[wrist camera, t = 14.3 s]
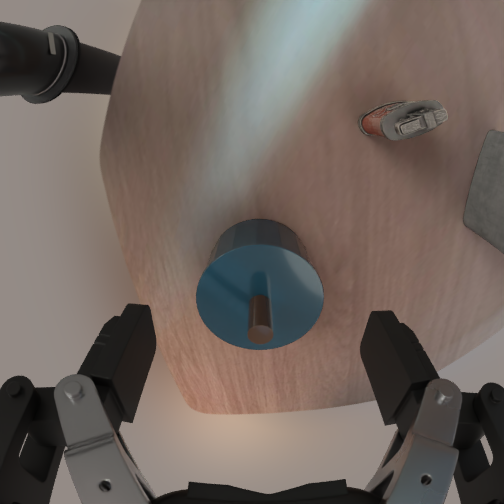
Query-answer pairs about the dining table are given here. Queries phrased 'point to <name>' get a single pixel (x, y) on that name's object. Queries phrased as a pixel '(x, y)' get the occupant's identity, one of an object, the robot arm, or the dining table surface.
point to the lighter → (402, 119)
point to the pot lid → (259, 296)
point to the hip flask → (488, 192)
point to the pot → (258, 237)
